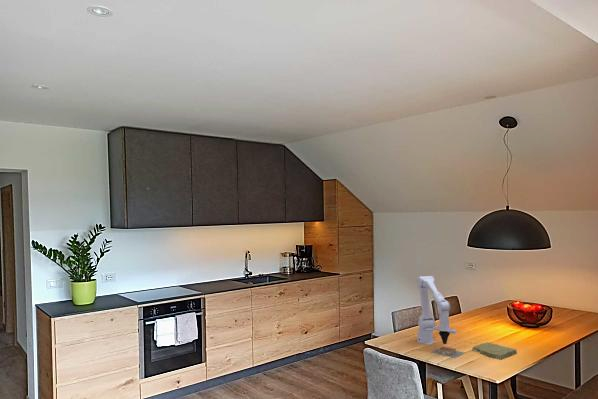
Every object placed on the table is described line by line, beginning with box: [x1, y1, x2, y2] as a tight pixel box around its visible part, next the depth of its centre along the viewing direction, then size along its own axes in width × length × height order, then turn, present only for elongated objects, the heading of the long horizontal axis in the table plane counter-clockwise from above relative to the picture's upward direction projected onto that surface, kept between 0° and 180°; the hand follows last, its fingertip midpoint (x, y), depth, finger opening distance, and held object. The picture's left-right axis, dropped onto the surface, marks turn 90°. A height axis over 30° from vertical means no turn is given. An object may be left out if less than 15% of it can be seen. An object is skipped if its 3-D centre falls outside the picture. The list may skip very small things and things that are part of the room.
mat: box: [430, 346, 465, 359], centre depth 275 cm, size 16×13×1 cm
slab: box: [437, 345, 457, 356], centre depth 275 cm, size 2×7×8 cm
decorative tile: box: [471, 341, 518, 361], centre depth 274 cm, size 19×20×4 cm
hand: (444, 343), depth 276 cm, fingers closed
